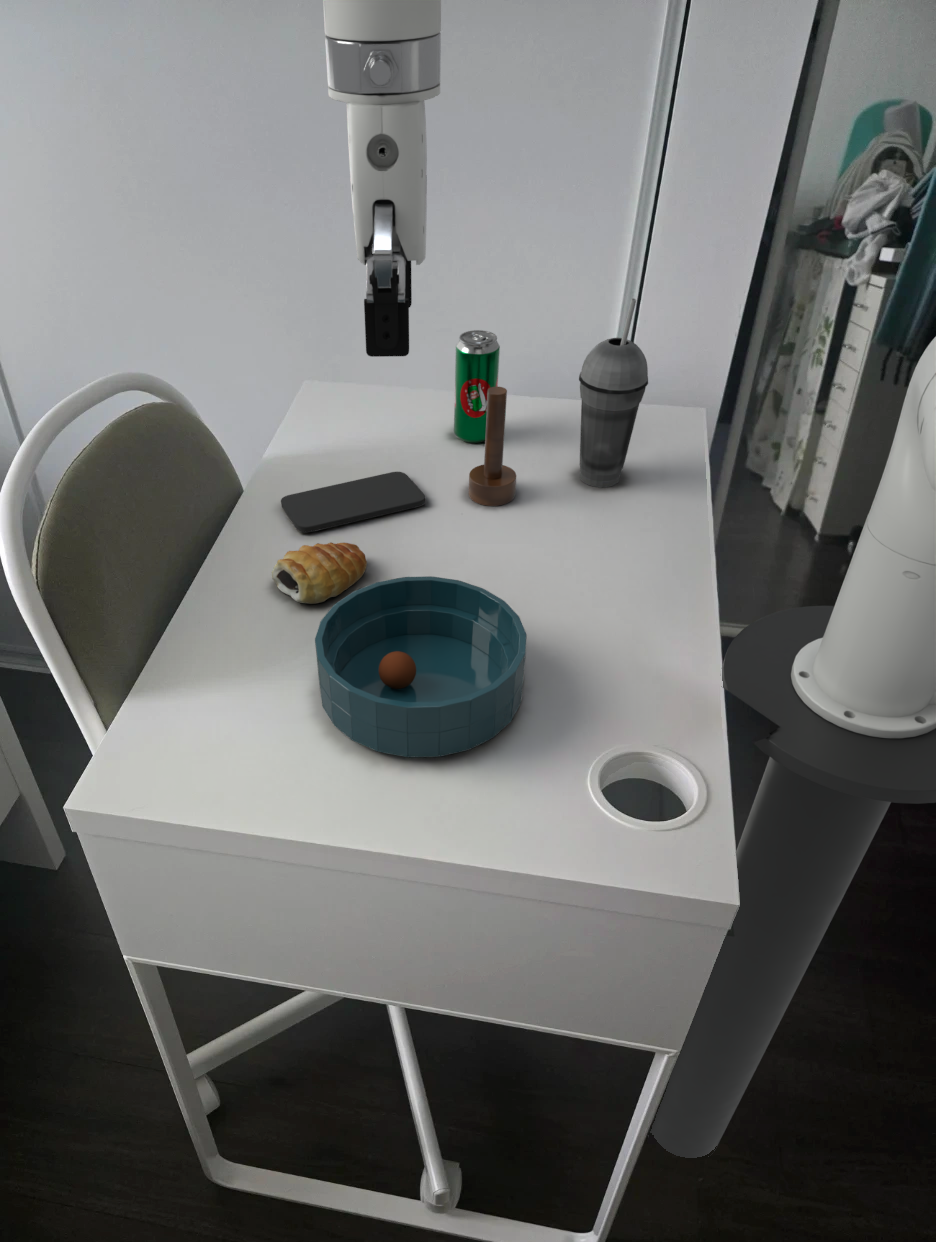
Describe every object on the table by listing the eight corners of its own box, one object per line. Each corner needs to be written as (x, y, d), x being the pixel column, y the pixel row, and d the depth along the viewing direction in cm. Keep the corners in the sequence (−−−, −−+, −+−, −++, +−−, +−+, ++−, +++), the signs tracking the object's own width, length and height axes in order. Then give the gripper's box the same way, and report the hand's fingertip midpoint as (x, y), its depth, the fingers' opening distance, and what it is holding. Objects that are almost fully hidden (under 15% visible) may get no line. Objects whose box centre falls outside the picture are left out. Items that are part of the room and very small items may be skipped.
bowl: (524, 636, 86) (529, 582, 82) (516, 772, 74) (522, 716, 70) (340, 623, 88) (336, 570, 84) (302, 754, 76) (295, 698, 72)
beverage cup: (600, 455, 111) (625, 278, 97) (645, 480, 107) (678, 298, 93) (554, 474, 108) (573, 293, 95) (598, 500, 104) (624, 314, 90)
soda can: (470, 422, 118) (474, 325, 110) (503, 433, 116) (509, 335, 108) (445, 436, 116) (447, 338, 107) (478, 449, 113) (482, 349, 105)
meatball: (418, 673, 82) (418, 645, 80) (413, 698, 80) (413, 669, 77) (382, 671, 82) (380, 642, 80) (376, 695, 80) (375, 666, 78)
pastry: (341, 549, 98) (339, 517, 95) (383, 577, 94) (382, 545, 91) (267, 584, 93) (262, 552, 91) (307, 615, 89) (304, 582, 87)
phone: (429, 499, 103) (299, 529, 99) (429, 505, 104) (300, 536, 99) (402, 469, 108) (277, 496, 104) (402, 476, 109) (278, 503, 104)
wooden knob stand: (516, 483, 107) (523, 380, 99) (514, 507, 103) (521, 402, 95) (470, 481, 107) (474, 378, 99) (466, 505, 104) (470, 400, 95)
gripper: (441, 92, 56) (438, 375, 67) (439, 45, 68) (437, 291, 80) (315, 95, 56) (333, 376, 68) (337, 47, 69) (349, 291, 80)
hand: (390, 329), depth 74 cm, fingers open, 9 cm apart
